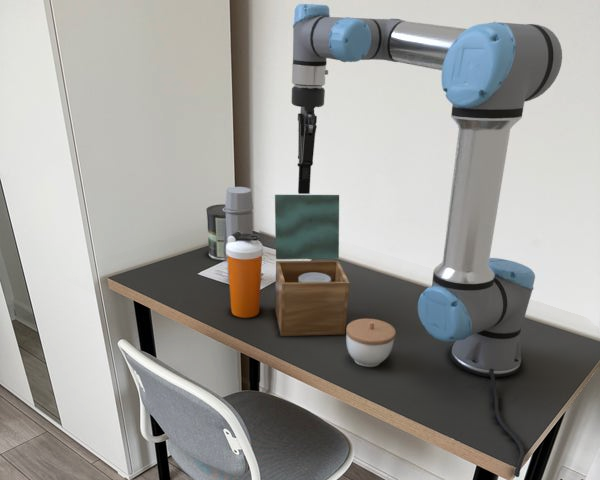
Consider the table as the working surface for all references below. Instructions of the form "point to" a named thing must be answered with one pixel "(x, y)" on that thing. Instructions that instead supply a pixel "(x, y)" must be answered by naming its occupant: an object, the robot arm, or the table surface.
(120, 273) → the table surface
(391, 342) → the trinket box
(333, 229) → the chest lid
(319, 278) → the canned food
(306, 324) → the chest
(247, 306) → the shaker bottle
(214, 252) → the coffee can
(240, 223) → the water bottle
